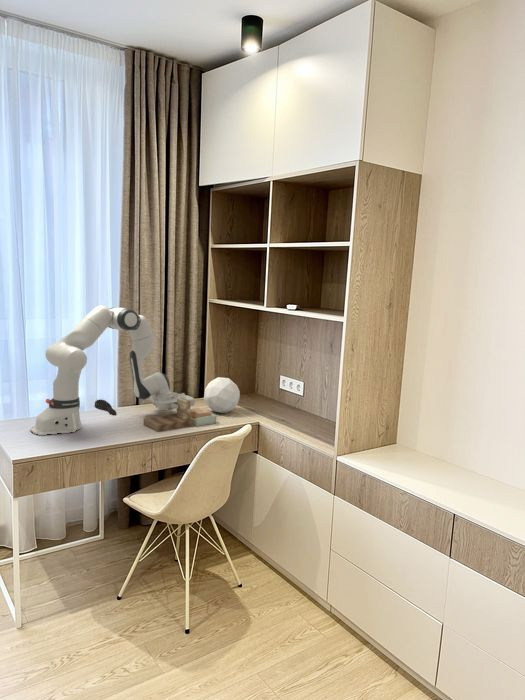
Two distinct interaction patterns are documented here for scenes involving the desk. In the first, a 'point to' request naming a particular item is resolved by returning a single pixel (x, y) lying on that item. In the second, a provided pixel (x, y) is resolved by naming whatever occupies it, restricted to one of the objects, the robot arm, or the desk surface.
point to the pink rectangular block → (193, 412)
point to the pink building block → (201, 414)
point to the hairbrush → (104, 406)
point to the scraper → (183, 408)
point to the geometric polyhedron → (221, 395)
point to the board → (167, 422)
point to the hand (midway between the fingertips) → (183, 406)
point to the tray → (204, 419)
